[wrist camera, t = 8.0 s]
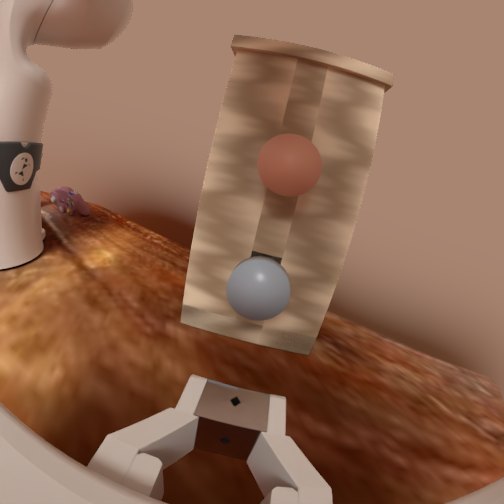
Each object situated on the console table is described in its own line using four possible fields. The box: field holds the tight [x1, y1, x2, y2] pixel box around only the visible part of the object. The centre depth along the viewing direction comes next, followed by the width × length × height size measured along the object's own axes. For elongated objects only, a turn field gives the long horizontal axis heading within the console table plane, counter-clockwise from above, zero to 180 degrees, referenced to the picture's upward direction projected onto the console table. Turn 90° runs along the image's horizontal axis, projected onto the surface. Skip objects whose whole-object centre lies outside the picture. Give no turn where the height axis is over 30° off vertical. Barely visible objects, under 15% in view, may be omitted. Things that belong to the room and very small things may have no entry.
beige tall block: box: [180, 35, 394, 355], centre depth 22 cm, size 13×6×25 cm, turn 82°
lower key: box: [226, 251, 290, 320], centre depth 21 cm, size 4×9×4 cm, turn 172°
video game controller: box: [50, 187, 90, 216], centre depth 46 cm, size 10×5×7 cm, turn 77°
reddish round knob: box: [257, 133, 322, 197], centre depth 20 cm, size 4×9×4 cm, turn 172°
